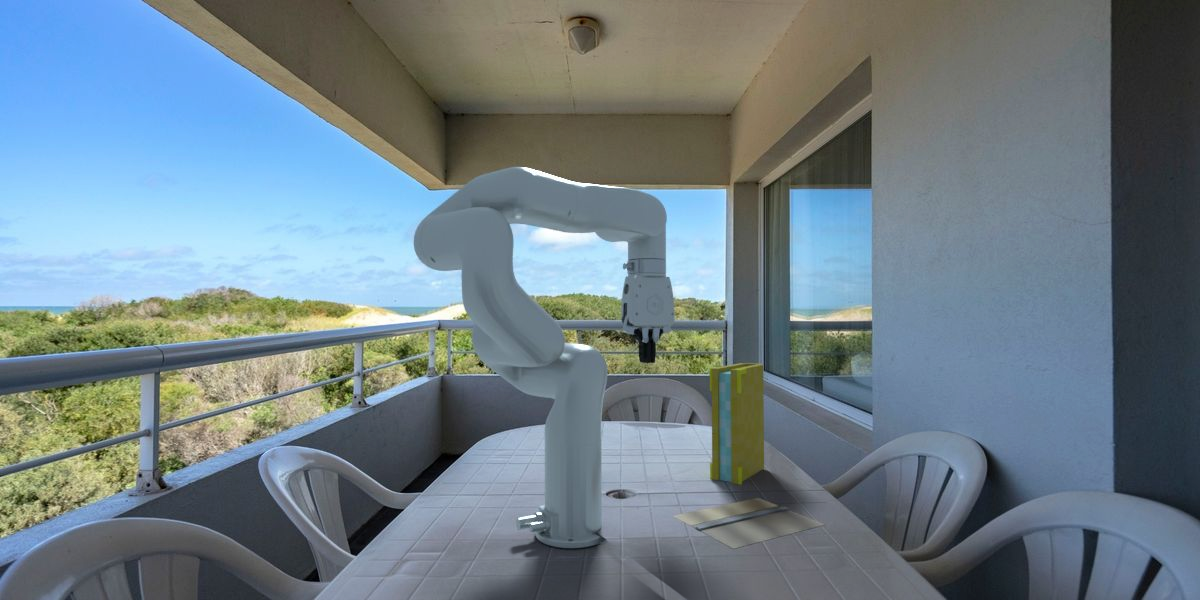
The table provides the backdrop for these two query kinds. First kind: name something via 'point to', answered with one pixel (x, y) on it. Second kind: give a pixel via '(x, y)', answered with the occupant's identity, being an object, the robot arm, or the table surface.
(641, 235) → the robot arm
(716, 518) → the board
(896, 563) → the table surface
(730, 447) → the book
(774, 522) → the laid plank
